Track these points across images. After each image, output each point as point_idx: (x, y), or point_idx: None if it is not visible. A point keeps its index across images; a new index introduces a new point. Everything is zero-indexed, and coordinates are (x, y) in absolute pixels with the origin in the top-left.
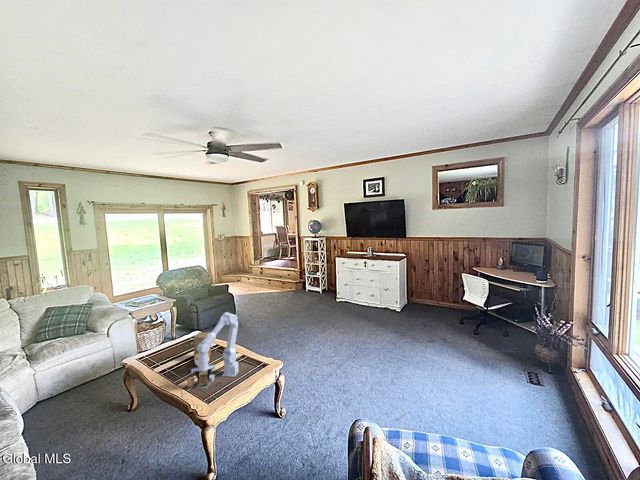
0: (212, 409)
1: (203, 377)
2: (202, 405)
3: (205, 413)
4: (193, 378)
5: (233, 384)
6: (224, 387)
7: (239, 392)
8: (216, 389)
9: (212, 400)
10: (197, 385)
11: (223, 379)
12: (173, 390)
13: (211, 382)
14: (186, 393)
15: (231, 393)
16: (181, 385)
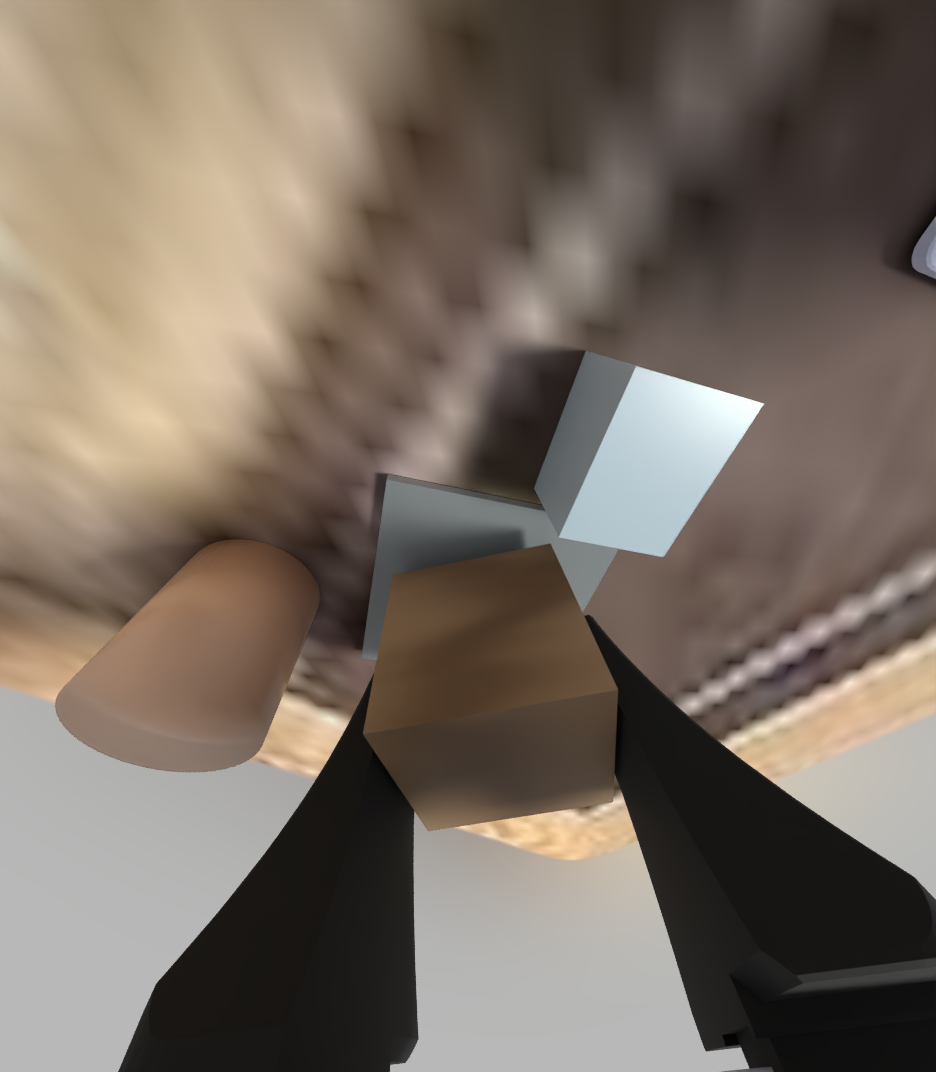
0: (617, 839)
1: (517, 804)
2: (541, 821)
3: (572, 856)
4: (233, 721)
5: (929, 604)
6: (782, 653)
7: (893, 725)
8: (673, 680)
9: (619, 790)
10: (378, 611)
11: (861, 438)
12: (36, 670)
13: (615, 548)
14: (304, 722)
15: (812, 734)
16: (34, 561)
